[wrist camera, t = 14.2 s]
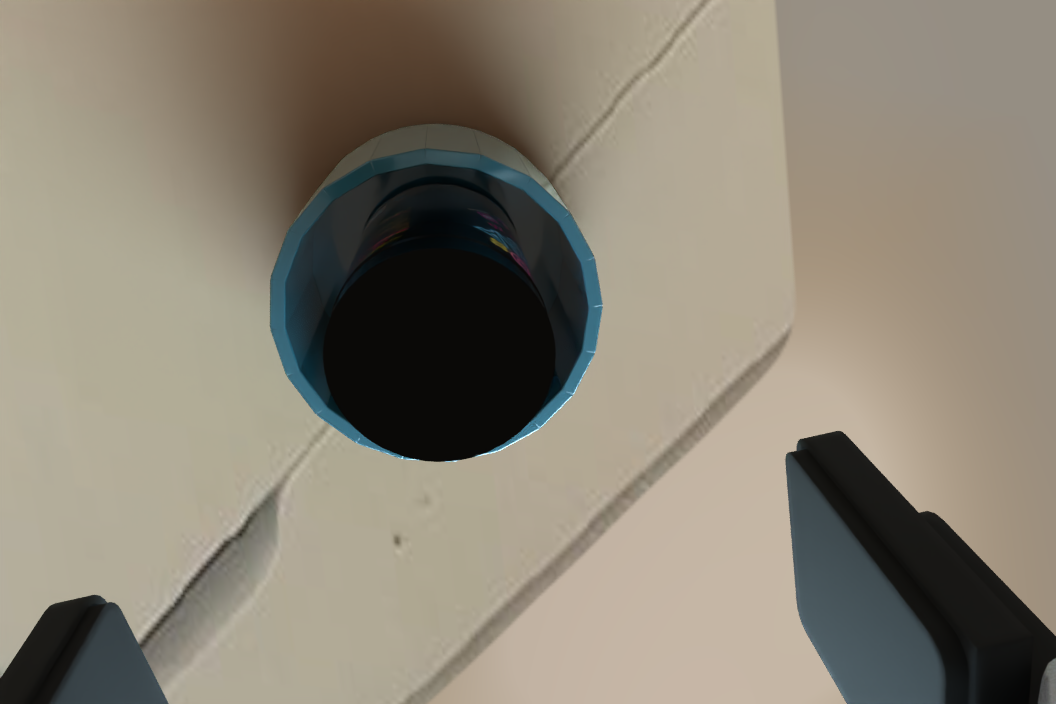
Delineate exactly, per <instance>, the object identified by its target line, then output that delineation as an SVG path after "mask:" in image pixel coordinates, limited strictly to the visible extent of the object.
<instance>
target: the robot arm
mask: <svg viewBox="0 0 1056 704" xmlns="http://www.w3.org/2000/svg"><path fill="white" fill-rule="evenodd" d="M786 474H787V487H788V498H789V499H788V500H789V511H790V524H791V537H792V549H793V562H794V574H795V587H796V599H797V607H798V612H799V616H800V619H801V622H802V625H803V627H804V629H805V631H806V633H807V635H808V637H809V638H810V640H811V642H812V644H813V645H814V647H815V649H816V650H817V652H818V654H819V656H820V657H821V659H822V661H823V663H824V665H825V666H826V668H827V670H828V671H829V673H830V675H831V677H832V678H833V680H834V682H835V683H836V685H837V687H838V689H839V691H840V692H841V694H842V696H843V698H844V699H845V701H846V703H847V704H1056V636H1055V635H1054V634H1053V633H1052V632H1051V631H1050V630H1049V629H1048V628H1047V627H1046V626H1045V625H1044V624H1043V623H1042V622H1041V620H1040V619H1039V618H1038V617H1037V616H1036V615H1035V614H1034V613H1033V612H1032V611H1031V610H1030V609H1029V608H1028V607H1027V606H1026V605H1025V604H1024V603H1023V602H1022V601H1021V600H1020V599H1019V598H1018V597H1017V596H1016V595H1015V594H1014V593H1013V592H1012V591H1011V589H1009V587H1008V586H1007V585H1006V584H1005V583H1004V582H1003V581H1002V580H1001V579H1000V578H999V577H998V576H997V575H996V574H995V573H994V572H993V571H992V570H991V569H990V568H989V567H988V566H987V565H986V564H985V563H984V562H983V561H982V560H981V558H979V556H977V554H976V553H975V552H974V551H973V550H972V549H971V548H970V547H969V546H968V545H967V544H966V543H965V542H964V541H963V540H962V539H961V538H960V537H959V536H958V535H957V534H956V533H955V532H954V531H953V530H952V529H951V528H950V526H949V525H948V524H947V523H946V522H945V521H944V520H943V519H941V518H940V517H939V516H938V515H936V514H935V513H932V512H929V511H925V512H921V513H918V512H917V511H916V510H915V508H914V507H913V506H912V505H911V504H910V503H909V502H908V501H907V500H906V499H905V498H904V497H903V496H902V494H901V493H900V492H899V491H898V490H897V489H896V488H895V487H894V486H893V485H892V484H891V483H890V482H889V481H888V480H887V478H886V477H885V476H884V475H883V474H882V473H881V472H880V471H879V470H878V469H877V468H876V467H875V466H874V464H872V462H870V460H869V459H868V458H867V457H866V456H865V455H864V454H863V453H862V452H861V451H860V450H859V448H858V447H857V446H856V445H855V444H854V443H853V442H852V441H851V440H850V439H849V438H848V437H847V436H846V434H844V433H843V432H841V431H835V432H831V433H826V434H822V435H818V436H813V437H808V438H804V439H800V440H799V441H798V443H797V451H794V452H789V453H787V454H786ZM0 704H168V702H167V700H166V698H165V696H164V694H163V692H162V690H161V688H160V686H159V684H158V682H157V680H156V678H155V676H154V674H153V672H152V670H151V668H150V666H149V664H148V662H147V660H146V658H145V656H144V654H143V652H142V650H141V648H140V646H139V644H138V642H137V641H136V639H135V637H134V635H133V633H132V631H131V629H130V627H129V625H128V623H127V621H126V619H125V617H124V615H123V613H122V611H121V609H120V608H119V606H118V605H116V604H115V603H112V602H109V603H107V602H106V601H105V599H103V598H102V597H101V596H98V595H91V596H87V597H82V598H78V599H73V600H69V601H64V602H60V603H55V604H53V605H51V606H49V608H48V609H47V610H46V611H45V612H44V614H43V615H42V617H41V618H40V620H39V621H38V623H37V624H36V626H35V627H34V629H33V630H32V632H31V633H30V635H29V636H28V638H27V639H26V641H25V642H24V644H23V645H22V647H21V648H20V650H19V651H18V653H17V654H16V656H15V657H14V659H13V660H12V662H11V664H10V665H9V667H8V668H7V670H6V671H5V673H4V674H3V676H2V677H1V679H0Z"/></svg>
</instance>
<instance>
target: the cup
mask: <svg viewBox="0 0 1056 704" xmlns="http://www.w3.org/2000/svg"><path fill="white" fill-rule="evenodd" d="M435 183H443V184H453V185H458V186H462V187H466V188H468V189H471V190H474V191H476V192H478V193H480V194H482V195H483V196H485V197H486V198H488V199H489V200H491V201H492V202H493V203H495V204H496V205H497V206H498V207H499V208H500V209H501V210H502V211H503V212H504V214H505V215H506V216H507V217H508V219H509V220H510V222H511V223H512V225H513V226H514V228H515V230H516V232H517V235H518V237H519V240H520V243H521V245H522V248H523V251H524V254H525V257H526V259H527V262H528V265H529V268H530V270H531V273H532V276H533V279H534V282H535V284H536V286H537V288H538V290H539V292H540V294H541V296H542V298H543V301H544V303H545V306H546V309H547V313H548V317H549V320H550V323H551V326H552V330H553V334H554V340H555V349H556V360H555V370H554V375H553V380H552V383H551V386H550V389H549V392H548V394H547V396H546V399H545V400H544V402H543V404H542V406H541V408H540V409H539V411H538V412H537V413H536V415H535V416H534V417H533V419H532V420H531V421H530V422H529V423H528V425H527V426H525V427H524V428H523V429H522V430H521V431H520V432H519V433H518V434H517V435H515V436H514V437H513V438H512V439H510V440H509V441H507V442H506V443H504V444H503V445H501V446H499V447H497V448H495V449H493V450H491V451H489V452H486V453H484V454H489V453H493V452H497V451H500V450H502V449H504V448H505V447H507V446H509V445H511V444H513V443H515V442H516V441H518V440H520V439H522V438H524V437H526V436H527V435H529V434H531V433H533V432H535V431H537V430H539V428H541V427H542V426H543V425H544V424H545V423H546V422H547V421H548V420H549V419H550V418H551V417H552V416H553V415H554V414H555V413H556V412H557V411H558V410H559V409H560V408H561V407H562V406H563V405H564V404H565V403H566V402H567V401H568V400H569V399H570V398H571V397H572V396H573V394H574V393H575V391H576V389H577V387H578V385H579V383H580V381H581V379H582V378H583V376H584V374H585V372H586V370H587V368H588V366H589V364H590V362H591V360H592V358H593V356H594V354H595V351H596V345H597V339H598V333H599V327H600V320H601V314H602V308H603V307H602V304H603V303H602V297H601V292H600V286H599V280H598V274H597V268H596V262H595V258H594V255H593V253H592V251H591V250H590V248H589V246H588V244H587V242H586V240H585V239H584V237H583V235H582V233H581V231H580V229H579V228H578V226H577V224H576V222H575V220H574V218H573V217H572V215H571V213H570V212H569V210H568V209H567V207H566V206H565V204H564V203H563V201H562V200H561V198H560V197H559V195H558V194H557V192H556V191H555V189H554V188H553V186H552V185H551V183H550V182H549V180H548V179H547V178H546V177H545V176H544V175H543V174H542V173H541V172H540V171H539V170H538V169H537V168H536V167H535V166H534V165H533V164H532V163H531V162H530V161H529V160H528V159H527V158H526V157H525V156H523V155H522V154H521V153H520V152H519V151H518V150H516V149H514V147H512V146H510V145H508V144H506V143H504V142H503V141H501V140H499V139H498V138H495V137H493V136H491V135H488V134H486V133H483V132H481V131H478V130H474V129H470V128H467V127H463V126H456V125H448V124H421V125H414V126H408V127H403V128H400V129H396V130H393V131H389V132H387V133H384V134H381V135H380V136H378V137H375V138H373V139H371V140H369V141H368V142H366V143H365V144H363V145H361V146H360V147H358V148H356V149H355V150H354V151H353V152H351V153H350V154H348V155H346V156H345V157H344V158H343V159H342V160H341V161H340V162H339V164H338V165H337V166H336V167H335V168H334V170H333V171H332V172H331V173H330V174H329V175H328V177H327V178H326V179H325V180H324V182H323V183H322V184H321V185H320V186H319V188H318V189H317V190H316V191H315V193H314V194H313V196H312V197H311V198H310V200H309V201H308V203H307V204H306V205H305V207H304V208H303V209H302V211H301V212H300V214H299V215H298V216H297V218H296V219H295V221H294V222H293V223H292V225H291V226H290V228H289V229H288V231H287V233H286V236H285V239H284V242H283V244H282V247H281V250H280V253H279V255H278V258H277V261H276V264H275V266H274V269H273V272H272V275H271V279H270V328H271V333H272V336H273V339H274V341H275V344H276V347H277V350H278V353H279V356H280V359H281V362H282V365H283V368H284V370H285V373H286V375H287V377H288V378H289V380H290V381H291V382H292V384H293V385H294V386H295V388H296V389H297V390H298V392H299V393H300V394H301V395H302V397H303V398H304V399H305V401H306V402H307V403H308V405H309V406H310V407H311V409H312V410H313V411H314V412H315V414H317V416H319V417H320V418H321V419H323V420H324V421H326V422H327V423H328V424H330V425H331V426H333V427H334V428H336V429H337V430H338V431H340V432H341V433H343V434H344V435H345V436H347V437H348V438H350V439H351V440H352V441H354V442H355V443H356V442H357V444H360V445H363V446H366V447H369V448H371V449H374V450H377V451H380V452H383V453H386V454H389V455H392V456H395V457H398V458H400V459H402V458H403V459H407V460H416V459H411V458H407V457H403V456H401V455H398V454H395V453H392V452H390V451H388V450H386V449H383V448H381V447H380V446H378V445H376V444H375V443H373V442H371V441H370V440H369V439H367V438H366V437H364V436H363V435H362V434H361V433H360V432H358V431H357V430H356V429H355V428H354V427H353V426H352V425H351V424H350V423H349V422H348V420H347V419H346V418H345V417H344V415H343V414H342V413H341V411H340V410H339V408H338V406H337V405H336V403H335V401H334V399H333V397H332V395H331V392H330V390H329V387H328V384H327V381H326V376H325V372H324V363H323V346H324V338H325V333H326V329H327V326H328V323H329V320H330V317H331V313H332V309H333V306H334V303H335V300H336V298H337V296H338V294H339V292H340V290H341V288H342V286H343V284H344V282H345V279H346V276H347V274H348V271H349V268H350V265H351V263H352V260H353V257H354V254H355V252H356V249H357V246H358V243H359V241H360V238H361V235H362V232H363V230H364V228H365V226H366V224H367V223H368V221H369V220H370V218H371V217H372V215H373V214H374V213H375V212H376V211H377V210H378V209H379V208H380V207H381V206H382V205H383V204H384V203H385V202H386V201H388V200H389V199H390V198H392V197H393V196H395V195H396V194H398V193H400V192H402V191H404V190H407V189H410V188H412V187H416V186H420V185H425V184H435ZM484 454H481V455H484ZM478 456H480V455H478ZM456 461H458V460H456ZM444 462H451V461H444ZM452 462H453V461H452Z"/></svg>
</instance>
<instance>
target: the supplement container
mask: <svg viewBox="0 0 1056 704" xmlns="http://www.w3.org/2000/svg"><path fill="white" fill-rule="evenodd" d="M555 360H556V349H555V340H554V334H553V330H552V326H551V323H550V320H549V317H548V313H547V309H546V306H545V303H544V301H543V298H542V296H541V294H540V292H539V290H538V288H537V286H536V284H535V282H534V279H533V276H532V273H531V270H530V268H529V265H528V262H527V259H526V257H525V254H524V251H523V248H522V245H521V243H520V240H519V237H518V235H517V232H516V230H515V228H514V226H513V225H512V223H511V222H510V220H509V219H508V217H507V216H506V215H505V214H504V212H503V211H502V210H501V209H500V208H499V207H498V206H497V205H496V204H495V203H493V202H492V201H491V200H489V199H488V198H486V197H485V196H483V195H482V194H480V193H478V192H476V191H474V190H471V189H468V188H466V187H462V186H458V185H453V184H443V183H435V184H425V185H420V186H416V187H412V188H410V189H407V190H404V191H402V192H400V193H398V194H396V195H395V196H393V197H392V198H390V199H389V200H388V201H386V202H385V203H384V204H383V205H382V206H381V207H380V208H379V209H378V210H377V211H376V212H375V213H374V214H373V215H372V217H371V218H370V220H369V221H368V223H367V224H366V226H365V228H364V230H363V232H362V235H361V238H360V241H359V243H358V246H357V249H356V252H355V254H354V257H353V260H352V263H351V265H350V268H349V271H348V274H347V276H346V279H345V282H344V284H343V286H342V288H341V290H340V292H339V294H338V296H337V298H336V300H335V303H334V306H333V309H332V313H331V317H330V320H329V323H328V326H327V329H326V333H325V338H324V346H323V363H324V372H325V376H326V381H327V384H328V387H329V390H330V392H331V395H332V397H333V399H334V401H335V403H336V405H337V406H338V408H339V410H340V411H341V413H342V414H343V415H344V417H345V418H346V419H347V420H348V422H349V423H350V424H351V425H352V426H353V427H354V428H355V429H356V430H357V431H358V432H360V433H361V434H362V435H363V436H364V437H366V438H367V439H369V440H370V441H371V442H373V443H375V444H376V445H378V446H380V447H381V448H383V449H386V450H388V451H390V452H392V453H395V454H398V455H401V456H403V457H407V458H411V459H416V460H423V461H434V462H444V461H456V460H462V459H467V458H472V457H475V456H478V455H481V454H484V453H486V452H489V451H491V450H493V449H495V448H497V447H499V446H501V445H503V444H504V443H506V442H507V441H509V440H510V439H512V438H513V437H514V436H515V435H517V434H518V433H519V432H520V431H521V430H522V429H523V428H524V427H525V426H527V425H528V423H529V422H530V421H531V420H532V419H533V417H534V416H535V415H536V413H537V412H538V411H539V409H540V408H541V406H542V404H543V402H544V400H545V399H546V396H547V394H548V392H549V389H550V386H551V383H552V380H553V375H554V370H555Z"/></svg>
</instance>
